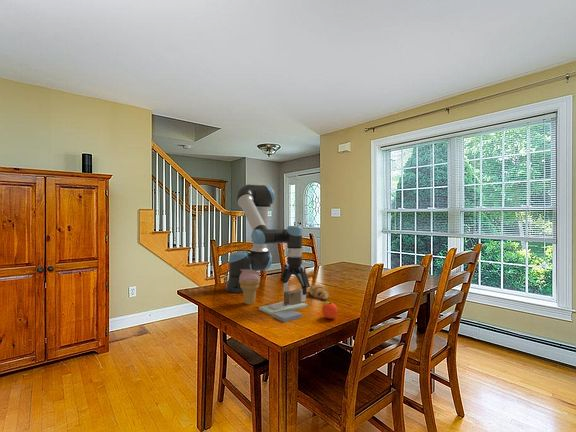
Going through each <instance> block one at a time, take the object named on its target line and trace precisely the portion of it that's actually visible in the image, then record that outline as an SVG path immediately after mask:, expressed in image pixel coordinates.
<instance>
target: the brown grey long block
mask: <svg viewBox="0 0 576 432" xmlns="http://www.w3.org/2000/svg"><path fill="white" fill-rule="evenodd" d="M280 302H281V303H280ZM280 302H276V304H275V303H271V304H272V305H271V304H267V305H268V307H269V308H272V309H274V310H278V309H282V308H286V307H290V306H292V305H295V304H299V303H305V301H302V302H301V288H299V289H294V290H289V291H287V292H284V291H283V301H280Z"/></svg>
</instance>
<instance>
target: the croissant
mask: <svg viewBox="0 0 576 432" xmlns="http://www.w3.org/2000/svg"><path fill="white" fill-rule="evenodd" d="M309 288H310V289H309V295H311V296H312V297H313V298H317V299H319V300H320V299H321V300H323V301H326V300H328V298H329V295H330V293H329V292H328V290H327V288H326V286H324V285H323V284H320V283H317V284H313V285H312V286H310V287H309Z"/></svg>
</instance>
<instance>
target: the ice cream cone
mask: <svg viewBox="0 0 576 432" xmlns="http://www.w3.org/2000/svg"><path fill="white" fill-rule="evenodd" d="M241 271H242V273H241V274H240V277H239V283H240V284H241V286H240V287H241V288H242V290H243V292H242V293H243V301H244V304H245V305H248V306H249V305H253V304H255V301H256V295H257V293H256V292H257V290H258V289H259V287H260V282H261V278H260V276H261V275H260V273H259V271H254V270H252V269H251V264H250V270H241Z"/></svg>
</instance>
